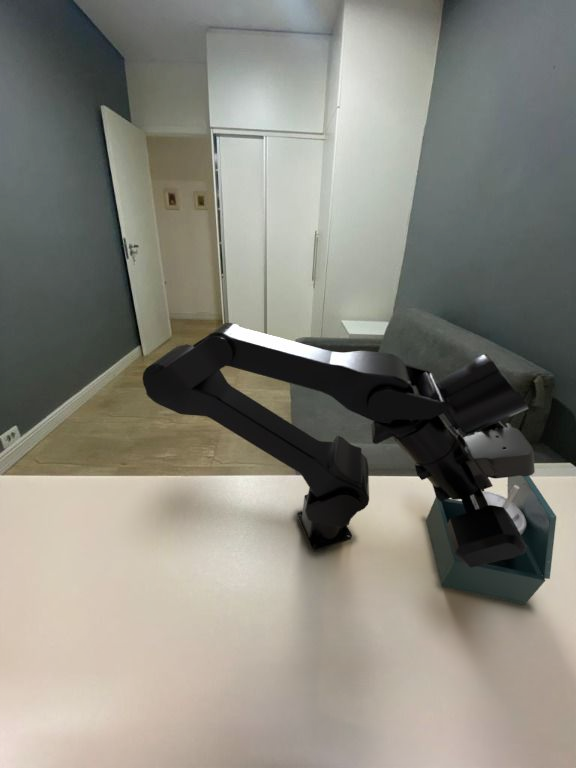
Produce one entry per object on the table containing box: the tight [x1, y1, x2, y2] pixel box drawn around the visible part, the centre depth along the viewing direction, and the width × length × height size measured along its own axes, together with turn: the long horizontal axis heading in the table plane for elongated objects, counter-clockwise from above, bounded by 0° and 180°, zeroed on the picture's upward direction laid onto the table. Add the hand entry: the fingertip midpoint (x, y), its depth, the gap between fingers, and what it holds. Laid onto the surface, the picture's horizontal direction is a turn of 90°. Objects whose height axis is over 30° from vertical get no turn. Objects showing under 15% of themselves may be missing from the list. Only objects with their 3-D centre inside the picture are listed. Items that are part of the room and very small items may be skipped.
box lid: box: [507, 475, 557, 580], centre depth 38 cm, size 11×10×1 cm
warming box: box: [425, 496, 546, 605], centre depth 43 cm, size 10×10×6 cm
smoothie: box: [473, 485, 527, 535], centre depth 40 cm, size 6×6×14 cm
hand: (495, 523), depth 40 cm, fingers open, 9 cm apart
